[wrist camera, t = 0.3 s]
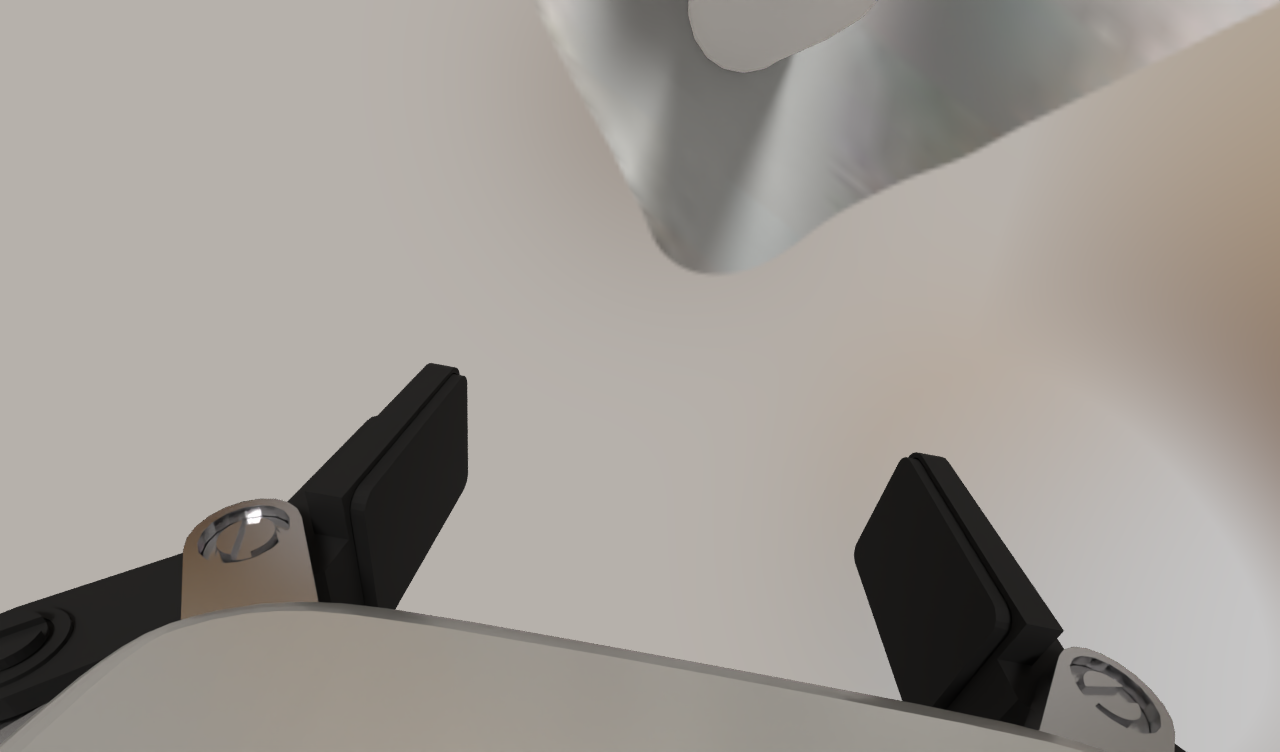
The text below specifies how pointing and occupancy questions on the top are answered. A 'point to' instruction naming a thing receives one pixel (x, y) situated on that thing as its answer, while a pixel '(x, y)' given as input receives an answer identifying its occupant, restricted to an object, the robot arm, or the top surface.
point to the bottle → (767, 28)
